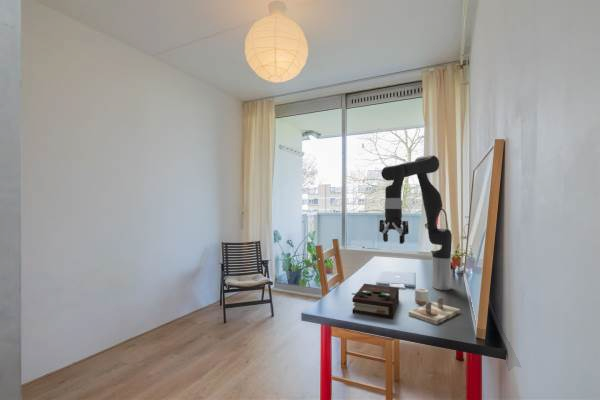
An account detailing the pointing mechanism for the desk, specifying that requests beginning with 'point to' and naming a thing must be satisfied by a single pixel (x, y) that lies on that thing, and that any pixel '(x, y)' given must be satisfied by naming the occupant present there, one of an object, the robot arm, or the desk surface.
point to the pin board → (434, 312)
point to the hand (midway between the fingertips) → (393, 242)
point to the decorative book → (376, 301)
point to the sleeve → (421, 296)
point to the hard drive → (400, 286)
